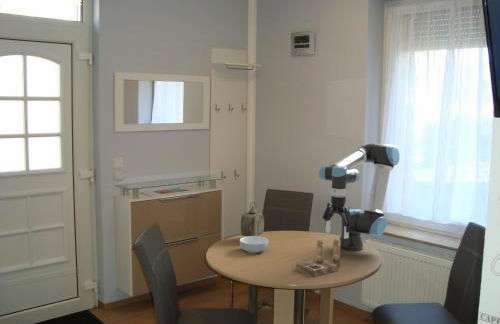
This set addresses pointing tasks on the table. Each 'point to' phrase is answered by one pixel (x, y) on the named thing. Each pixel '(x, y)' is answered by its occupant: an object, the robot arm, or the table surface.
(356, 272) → the table surface
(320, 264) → the wooden base block
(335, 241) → the leg peg
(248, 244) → the cereal bowl
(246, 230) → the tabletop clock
